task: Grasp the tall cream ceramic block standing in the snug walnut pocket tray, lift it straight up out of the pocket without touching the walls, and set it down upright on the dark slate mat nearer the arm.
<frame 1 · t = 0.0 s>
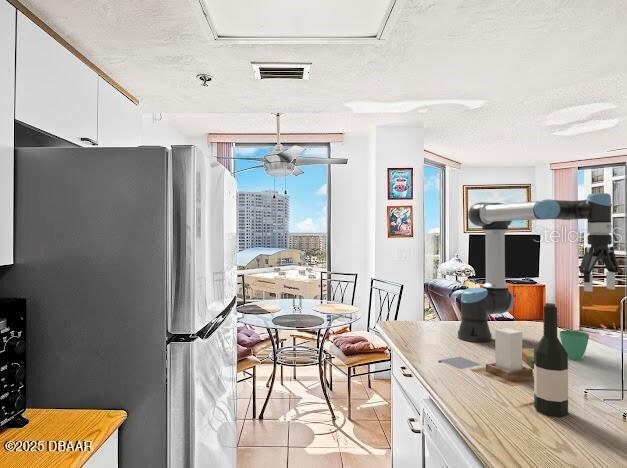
hand: (599, 290, 156), 28 cm above the table, fingers open, 13 cm apart
pocket tray: (508, 376, 143), on the table
wine bottle: (550, 411, 115), on the table
slate mat: (459, 364, 156), on the table
cream block: (508, 373, 143), point 1 cm above the table, touching pocket tray
carton: (535, 365, 156), on the table
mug: (573, 357, 165), on the table
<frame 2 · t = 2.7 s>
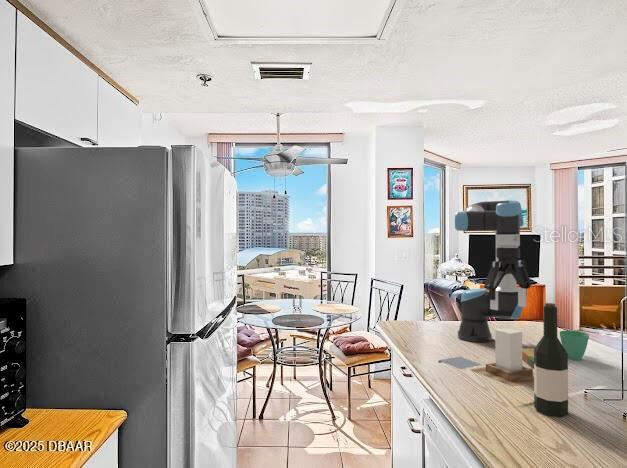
hand: (508, 308, 143), 24 cm above the table, fingers open, 13 cm apart
nothing on the table moved.
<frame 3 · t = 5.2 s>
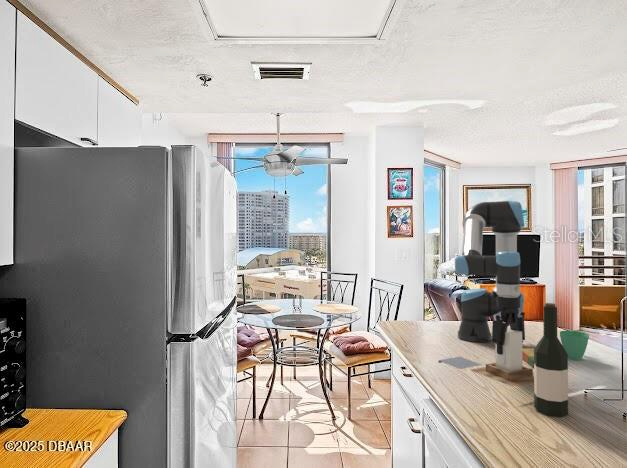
hand: (508, 362, 143), 5 cm above the table, fingers closed on cream block, 6 cm apart
cream block: (508, 373, 143), point 1 cm above the table, touching gripper, pocket tray
everything else where it was.
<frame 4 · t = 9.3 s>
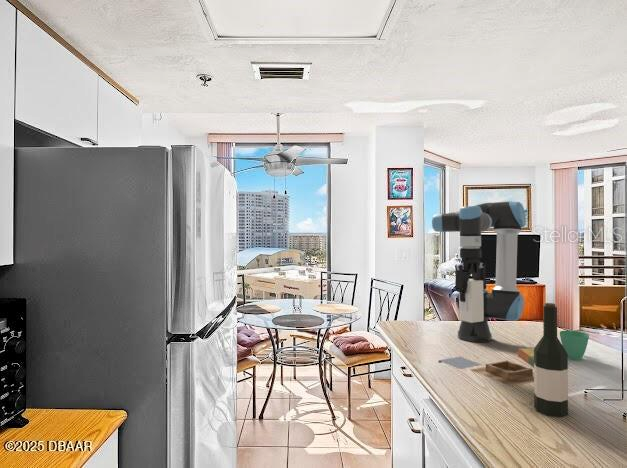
hand: (471, 309, 154), 21 cm above the table, fingers closed on cream block, 6 cm apart
cream block: (471, 320, 154), point 17 cm above the table, touching gripper
everything else where it was.
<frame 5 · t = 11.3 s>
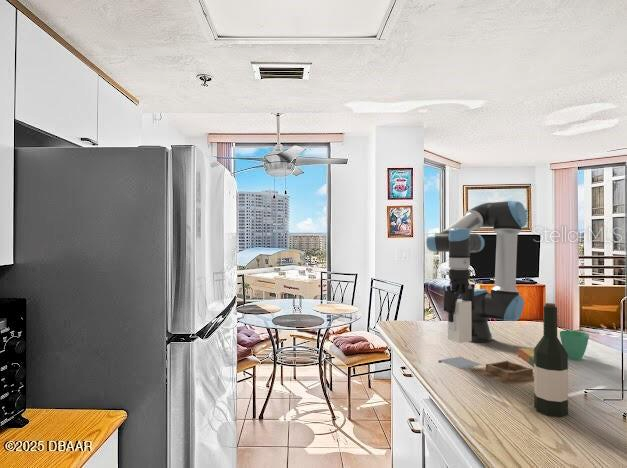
hand: (459, 329, 156), 13 cm above the table, fingers closed on cream block, 6 cm apart
cream block: (459, 340, 156), point 9 cm above the table, touching gripper
everything else where it was.
when the fingers open (7 cm above the table, at t = 13.2 s): cream block drops 2 cm, resting on slate mat.
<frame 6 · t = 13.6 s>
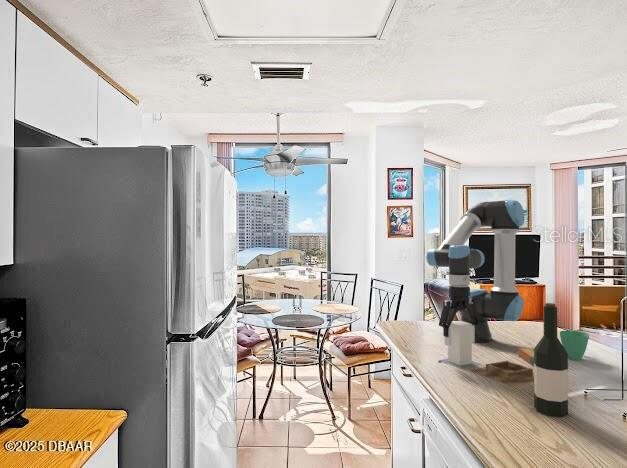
hand: (459, 343, 156), 8 cm above the table, fingers open, 11 cm apart
cream block: (459, 362, 156), point 1 cm above the table, touching slate mat
everything else where it was.
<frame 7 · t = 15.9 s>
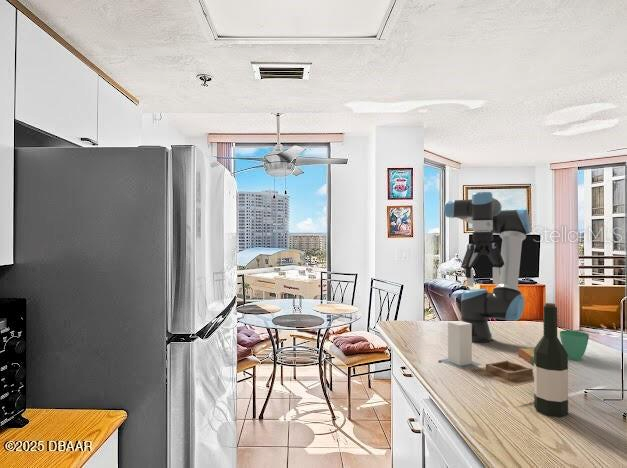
hand: (483, 284, 163), 29 cm above the table, fingers open, 13 cm apart
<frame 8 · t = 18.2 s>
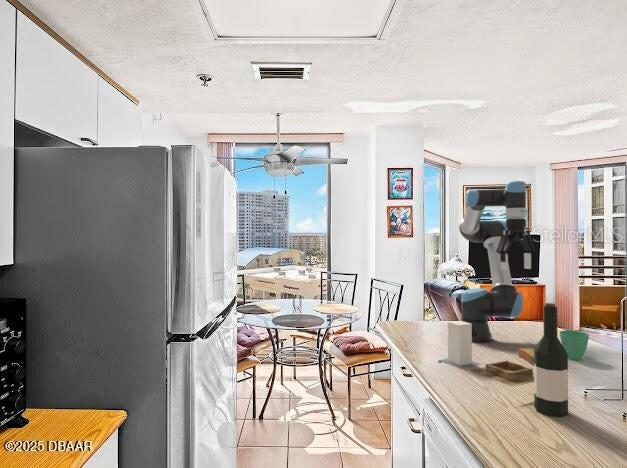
hand: (516, 269, 172), 35 cm above the table, fingers open, 13 cm apart
at the end: cream block inside the target area on the slate mat (0.1 cm from its centre), point 0.8 cm above the slate mat's base; cream block tilted 0°; cream block touching slate mat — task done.
